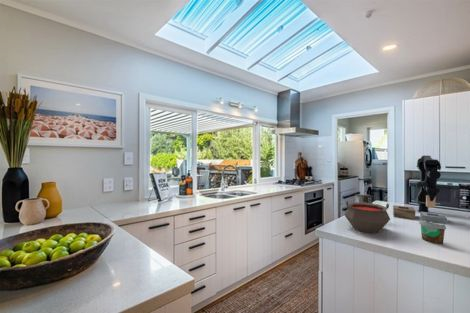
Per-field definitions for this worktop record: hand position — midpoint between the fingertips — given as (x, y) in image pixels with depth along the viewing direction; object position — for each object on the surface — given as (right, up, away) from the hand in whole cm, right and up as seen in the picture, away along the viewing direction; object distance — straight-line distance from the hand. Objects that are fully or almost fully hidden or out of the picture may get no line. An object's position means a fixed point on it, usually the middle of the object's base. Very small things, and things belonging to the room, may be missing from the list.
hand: (430, 200), depth 154 cm
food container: (-33, -14, -37) cm, 51 cm away
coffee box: (-44, -13, +4) cm, 46 cm away
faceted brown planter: (-55, -13, -19) cm, 60 cm away
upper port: (-12, -13, +8) cm, 20 cm away
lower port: (+1, -13, 0) cm, 13 cm away
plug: (0, -4, 0) cm, 4 cm away
